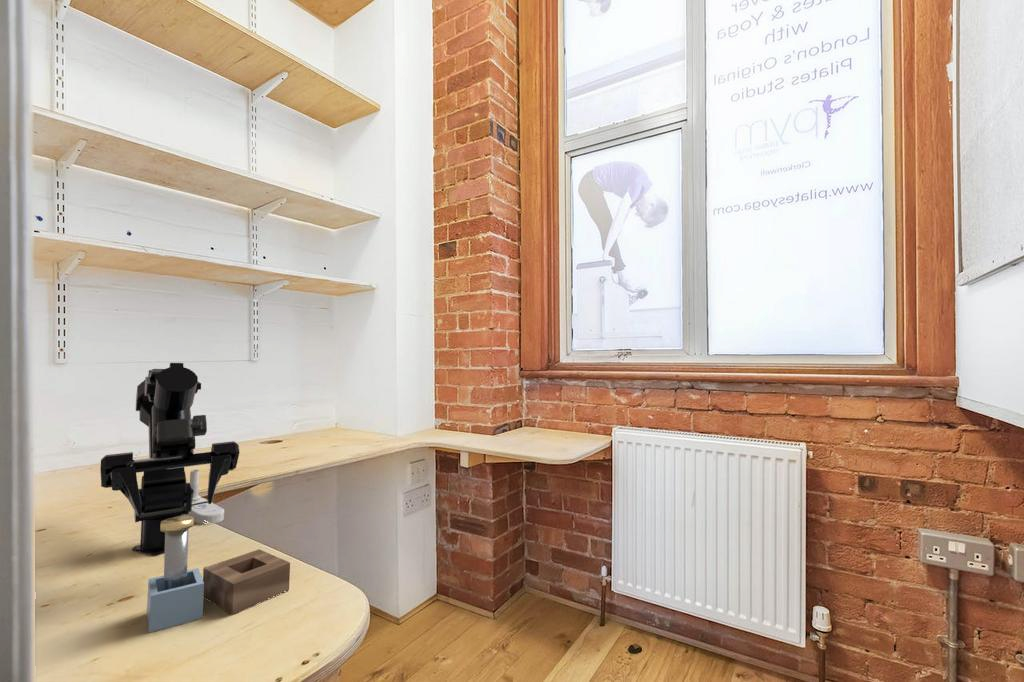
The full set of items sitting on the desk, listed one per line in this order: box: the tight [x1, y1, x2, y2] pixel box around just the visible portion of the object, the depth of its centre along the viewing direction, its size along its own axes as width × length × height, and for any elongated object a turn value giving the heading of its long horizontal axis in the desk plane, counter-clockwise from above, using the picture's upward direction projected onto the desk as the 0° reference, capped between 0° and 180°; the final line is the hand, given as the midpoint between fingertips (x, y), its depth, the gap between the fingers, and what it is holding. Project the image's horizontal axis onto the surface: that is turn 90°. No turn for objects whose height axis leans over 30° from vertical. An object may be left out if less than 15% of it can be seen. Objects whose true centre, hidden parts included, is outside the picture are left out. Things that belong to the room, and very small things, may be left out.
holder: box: [146, 567, 204, 634], centre depth 70 cm, size 6×6×5 cm
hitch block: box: [202, 548, 291, 616], centre depth 77 cm, size 9×9×4 cm
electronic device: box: [182, 469, 225, 525], centre depth 112 cm, size 5×10×15 cm
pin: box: [160, 515, 195, 591], centre depth 71 cm, size 4×4×14 cm
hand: (176, 508), depth 76 cm, fingers open, 9 cm apart
